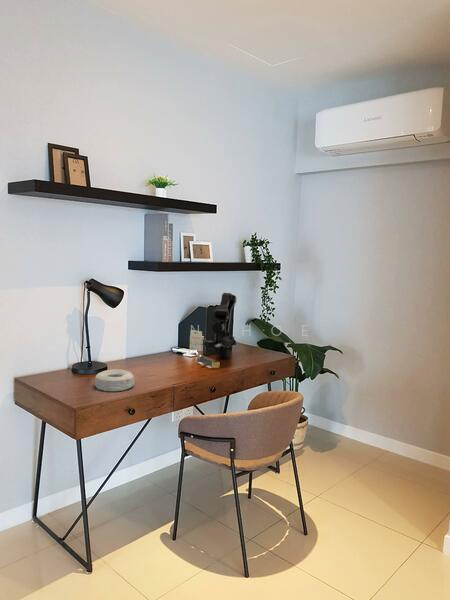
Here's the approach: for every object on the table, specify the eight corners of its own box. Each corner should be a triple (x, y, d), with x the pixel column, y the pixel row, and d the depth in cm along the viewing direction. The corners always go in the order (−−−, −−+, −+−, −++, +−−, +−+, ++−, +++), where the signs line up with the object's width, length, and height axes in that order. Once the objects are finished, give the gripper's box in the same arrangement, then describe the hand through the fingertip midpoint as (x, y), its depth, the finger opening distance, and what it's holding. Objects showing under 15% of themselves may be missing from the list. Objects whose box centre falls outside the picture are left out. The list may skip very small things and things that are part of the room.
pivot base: (201, 360, 275) (201, 359, 275) (207, 362, 270) (207, 361, 270) (192, 361, 272) (192, 360, 272) (198, 363, 267) (198, 363, 267)
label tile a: (207, 362, 270) (207, 361, 270) (211, 364, 267) (211, 363, 267) (198, 363, 267) (198, 362, 267) (202, 365, 264) (202, 364, 264)
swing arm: (195, 360, 271) (196, 354, 271) (201, 360, 273) (201, 354, 273) (214, 368, 257) (214, 361, 256) (219, 367, 259) (220, 361, 258)
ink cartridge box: (205, 354, 290) (206, 330, 288) (201, 355, 286) (202, 331, 284) (193, 352, 294) (194, 328, 292) (189, 353, 290) (189, 329, 288)
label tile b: (214, 365, 265) (214, 364, 265) (218, 366, 262) (219, 366, 262) (205, 366, 261) (205, 365, 261) (209, 368, 258) (209, 367, 258)
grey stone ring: (120, 379, 230) (120, 367, 230) (142, 387, 218) (142, 374, 218) (87, 385, 218) (87, 372, 217) (109, 395, 206) (109, 381, 205)
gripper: (215, 334, 254) (213, 363, 256) (242, 331, 265) (241, 359, 267) (203, 330, 263) (202, 358, 265) (230, 328, 274) (229, 355, 276)
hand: (219, 358), depth 268 cm, fingers closed
